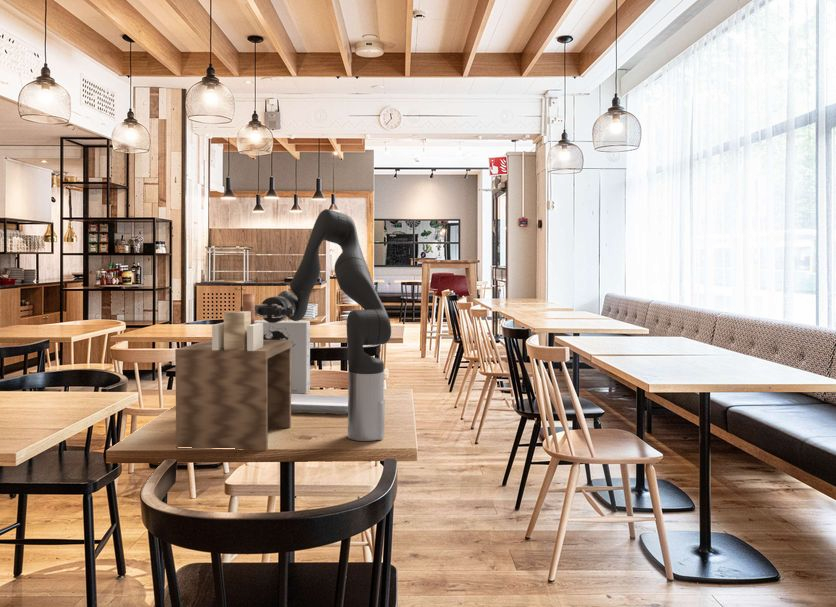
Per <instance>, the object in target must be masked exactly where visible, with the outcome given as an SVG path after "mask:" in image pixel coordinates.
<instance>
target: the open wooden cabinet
mask: <svg viewBox="0 0 836 607" xmlns="http://www.w3.org/2000/svg"><path fill="white" fill-rule="evenodd" d="M174 350H175V357H174V358H175V364H174V365H175V448H176V447H192V448H235V449H244V450H243V451H258V452H259V451H260V452H263V451H264V452H266V451H267V450H268V446H269V445H268V438H269V437H268V436H269V434H268V432H269V431H268V430H269V429H268V428H276V427H278V428H282V429H283V428H284V429H285V428H287V429H290V428H291V427H292V412H291V340H263V347H262V348H259V349H257V350H254V351H247V349H246V350H224V348H223V349H221V350H212V338H211V339H208V340H204V341H199V342H197V343H192V344H189V345H186V346H183V347H180V348H176V349H174Z"/></svg>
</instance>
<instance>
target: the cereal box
mask: <svg viewBox="0 0 836 607" xmlns="http://www.w3.org/2000/svg"><path fill="white" fill-rule="evenodd" d="M255 323H263V340H291V394H302V393H306V392H308V393H309V392H310V389H311V361H310V360H311V321H310V320H299V321H293V320H283V321H280V322H276V323H269V322H267V321H265V320H264V319H262V320H261V319H260V320H259V319H258V320H257V319H255Z"/></svg>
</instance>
